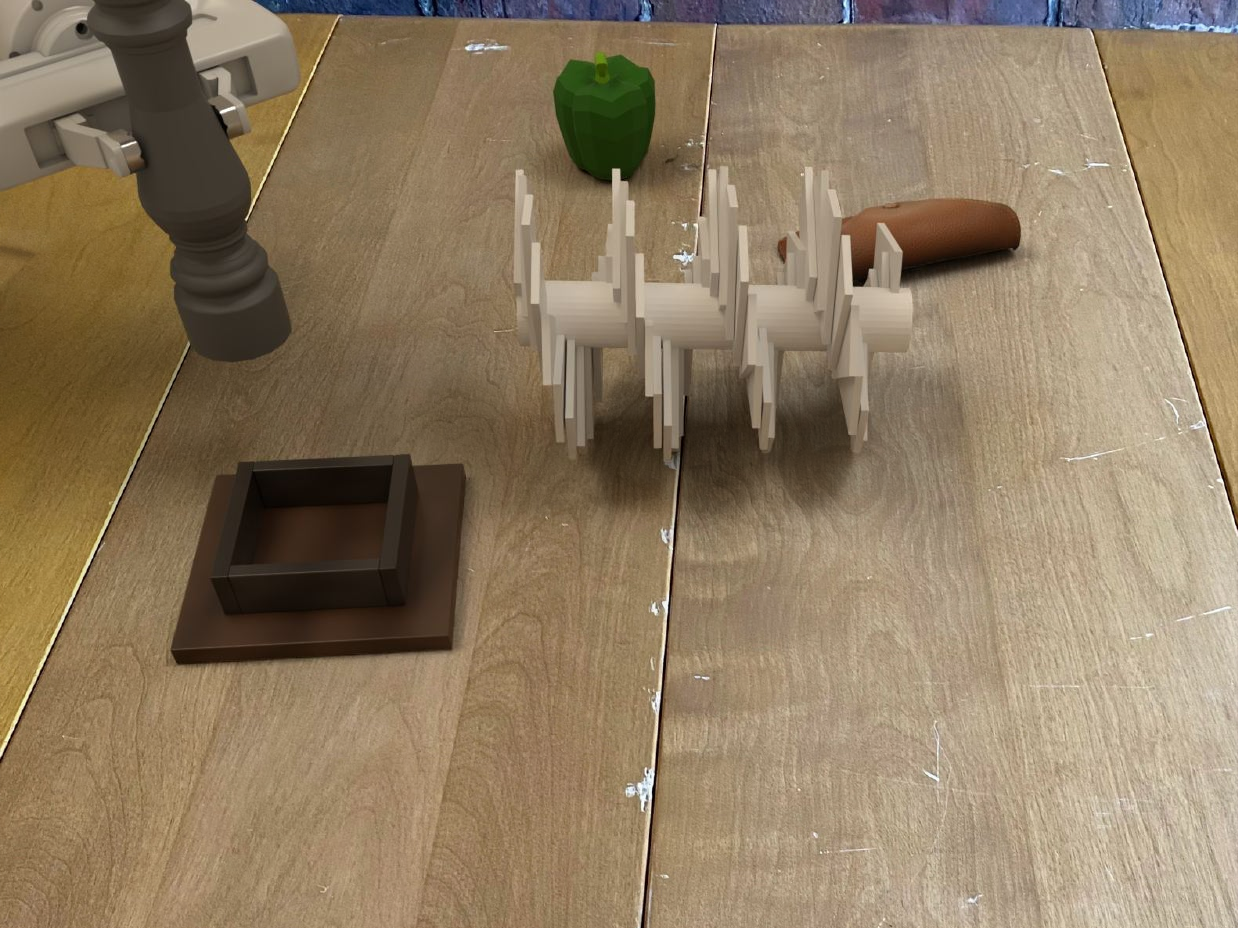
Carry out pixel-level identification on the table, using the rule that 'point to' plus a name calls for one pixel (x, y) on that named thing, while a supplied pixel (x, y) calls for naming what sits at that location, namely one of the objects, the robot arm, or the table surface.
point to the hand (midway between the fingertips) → (185, 141)
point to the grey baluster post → (193, 184)
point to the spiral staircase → (710, 312)
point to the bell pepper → (605, 113)
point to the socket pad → (324, 560)
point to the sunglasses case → (929, 231)
